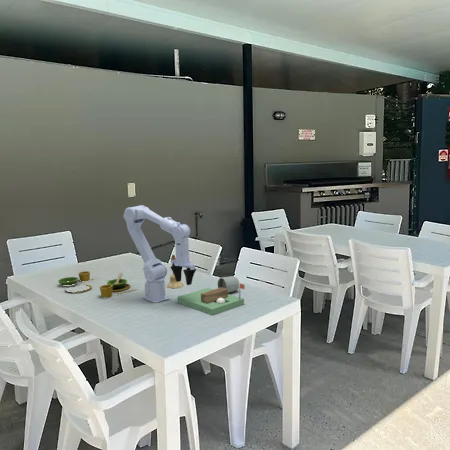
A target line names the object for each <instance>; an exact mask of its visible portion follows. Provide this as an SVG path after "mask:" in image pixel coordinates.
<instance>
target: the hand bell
mask: <svg viewBox="0 0 450 450" xmlns="http://www.w3.org/2000/svg"><path fill="white" fill-rule="evenodd" d="M171 260H176V254H172V255H171V259H170V261H171ZM171 266H173V265H172V264H171ZM169 278H170V279H169V282H168V283H167V286H166V287H167V288H169V289H181V288H182V287H184V283H183V282H182V280H181V281H179V282H176V279H175V276H174V273H173V272H172V274H171V275H170V277H169Z"/></svg>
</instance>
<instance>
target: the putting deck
mask: <svg viewBox="0 0 450 450" xmlns="http://www.w3.org/2000/svg"><path fill="white" fill-rule="evenodd" d="M245 286H246V285H245V284H243V283H240V282H239V288H238V296H236V295H233V294H230V293H228V297H226V298H223V299H224V300H225V303H223V304H218V303H216V301H217V300H216V301H213V302H210V303H204V302H201V293H204V292H208V291H211V290H214V289H215V288H211V287H206V288H202V289H199V290H196V291H192V292H189V293H185V294H183V295H182V294H181V295H179V296H177V297H176V299H177V303H179V304H182V305H185V306H187V307H190V308H192V309H195V310H198V311H200V312H202V313H205V314H209V315H211V316H215V315H218V314H220V313H224V312H226V311H229V310H232V309H234V308H237V307H240V306H243V305H245V298H243V297H241V289H242V290H245Z"/></svg>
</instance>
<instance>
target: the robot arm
mask: <svg viewBox="0 0 450 450" xmlns="http://www.w3.org/2000/svg"><path fill="white" fill-rule="evenodd" d="M122 217H123V219H124V221H125V223H126V227H127V231H128V233H129V235H130V237H131V239H132V241H133V242H134V245H135V247H136V249H137V251H138V253H139V256H141V257H140V258H141V259H142V261H143V263H144V264H143V266H142V270H143V275H144V279H145V280H146V281H145V284H144V295H145V296H144V297H143V299H144V300H147V301H148V302H152V303H153V304H156V303H160V302H164V301H166V300H169V299H170V297H168V296H166V286H165V285H166V284H165V279H166V276H167V274H168V268H167V266H166V265H165V264H164V263H163V262H162V260H160V259H158V258H157V257H156V256H155V254H154V251H153V250H152V248H151V245H150V244H149V242H148V240H147V238H146V236H145V234H144V232H143V230H142V224H143V223H144V221H145V219H146V220H149V221H151V222H152V223H155V224H157V225H159V226H160V229H161V230H162V231H163V230H164V231H165V232H167V233H168V234H170V235H171V236H172V237H173V239H174V243H175V244H174V245H175V247H174V248H175V258H176V260H171V259H170V263H171V266H170V269H171V271H172V274H173V273H174V276H175V279H176V282H179V281H181V282H182V272H183V273H184V277H185V284H186V285H187V286H190V285H192V282H193V278H194V275H195V273H196V271H197V268H196V264H193V263H192V262H191V261H190V247H189V246H190V244H189V237H190V235H191V228H190V226H189V225H188V224H186V223H183V224H181V222H179V221H178V222H177V221H176V220H174V219H172V217H171V216H168V217H167V216H165V217H162V216H161V215H159V214H157V213H156V212H155V211H153V210H151V209H150V208H149V207H148V206H145V205H143V204H139V205H136V206H129V207H126V208H125V210H124V212H123V215H122ZM172 265H173V266H172ZM183 268H185V269H183Z"/></svg>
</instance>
